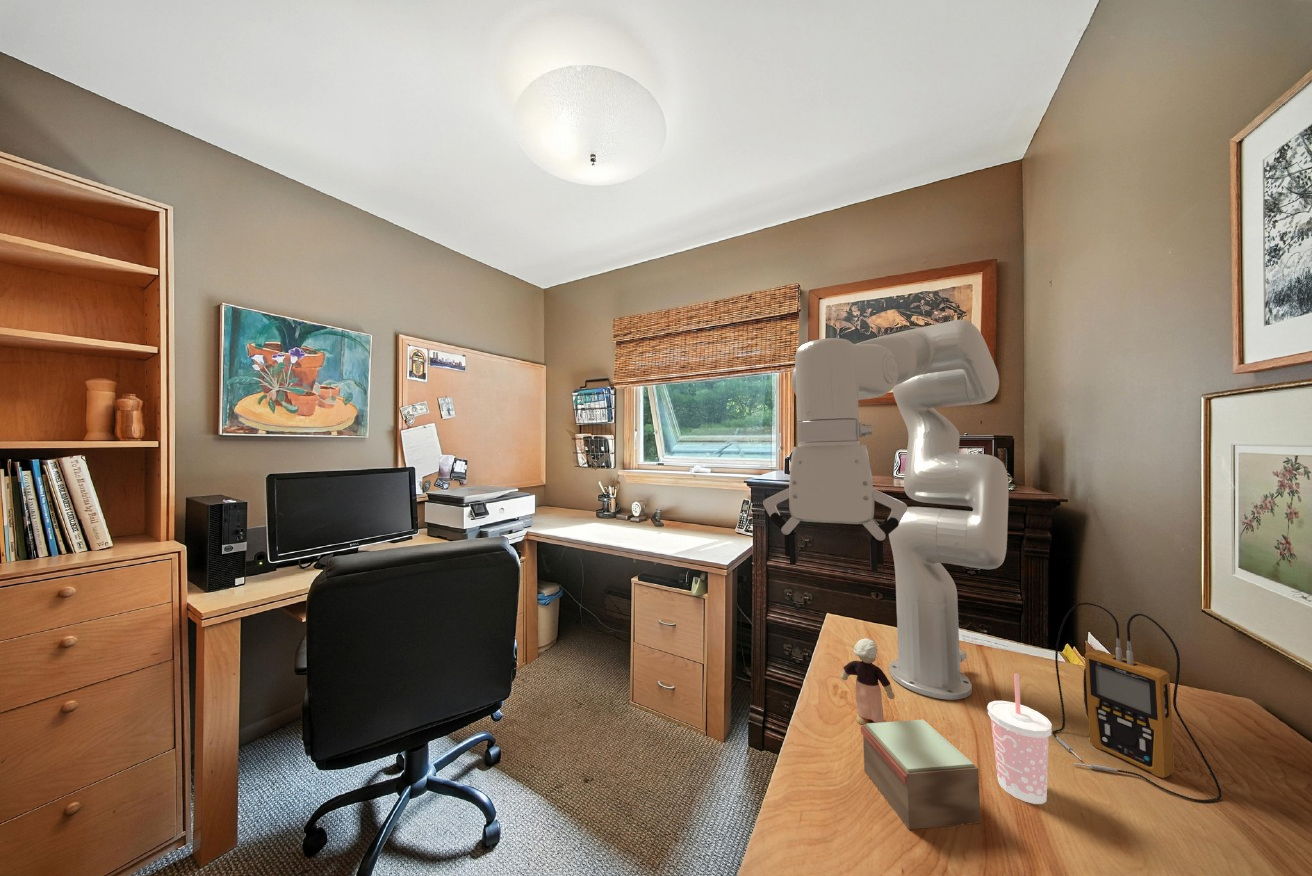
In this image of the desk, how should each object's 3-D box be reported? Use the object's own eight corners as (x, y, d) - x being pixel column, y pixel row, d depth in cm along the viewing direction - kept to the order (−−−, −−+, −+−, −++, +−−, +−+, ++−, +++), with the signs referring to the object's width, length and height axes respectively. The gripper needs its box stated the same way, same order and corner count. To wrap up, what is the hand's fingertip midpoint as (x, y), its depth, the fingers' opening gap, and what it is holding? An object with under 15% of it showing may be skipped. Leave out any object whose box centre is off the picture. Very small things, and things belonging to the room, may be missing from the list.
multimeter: (1029, 743, 60) (1022, 602, 60) (1065, 724, 64) (1059, 592, 64) (1190, 827, 46) (1179, 644, 47) (1224, 797, 50) (1213, 628, 51)
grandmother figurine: (897, 723, 64) (894, 640, 65) (895, 737, 61) (892, 650, 62) (843, 707, 69) (841, 629, 69) (839, 719, 65) (836, 638, 66)
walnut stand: (925, 765, 56) (923, 717, 56) (980, 822, 47) (978, 765, 47) (862, 770, 55) (860, 722, 55) (906, 829, 46) (904, 771, 47)
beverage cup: (980, 766, 55) (975, 660, 56) (1033, 773, 54) (1028, 664, 55) (1008, 805, 49) (1003, 684, 50) (1069, 813, 48) (1063, 690, 49)
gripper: (900, 433, 54) (906, 564, 54) (766, 438, 62) (770, 553, 61) (907, 431, 48) (913, 582, 47) (755, 437, 55) (760, 567, 55)
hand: (832, 565), depth 54 cm, fingers open, 9 cm apart
